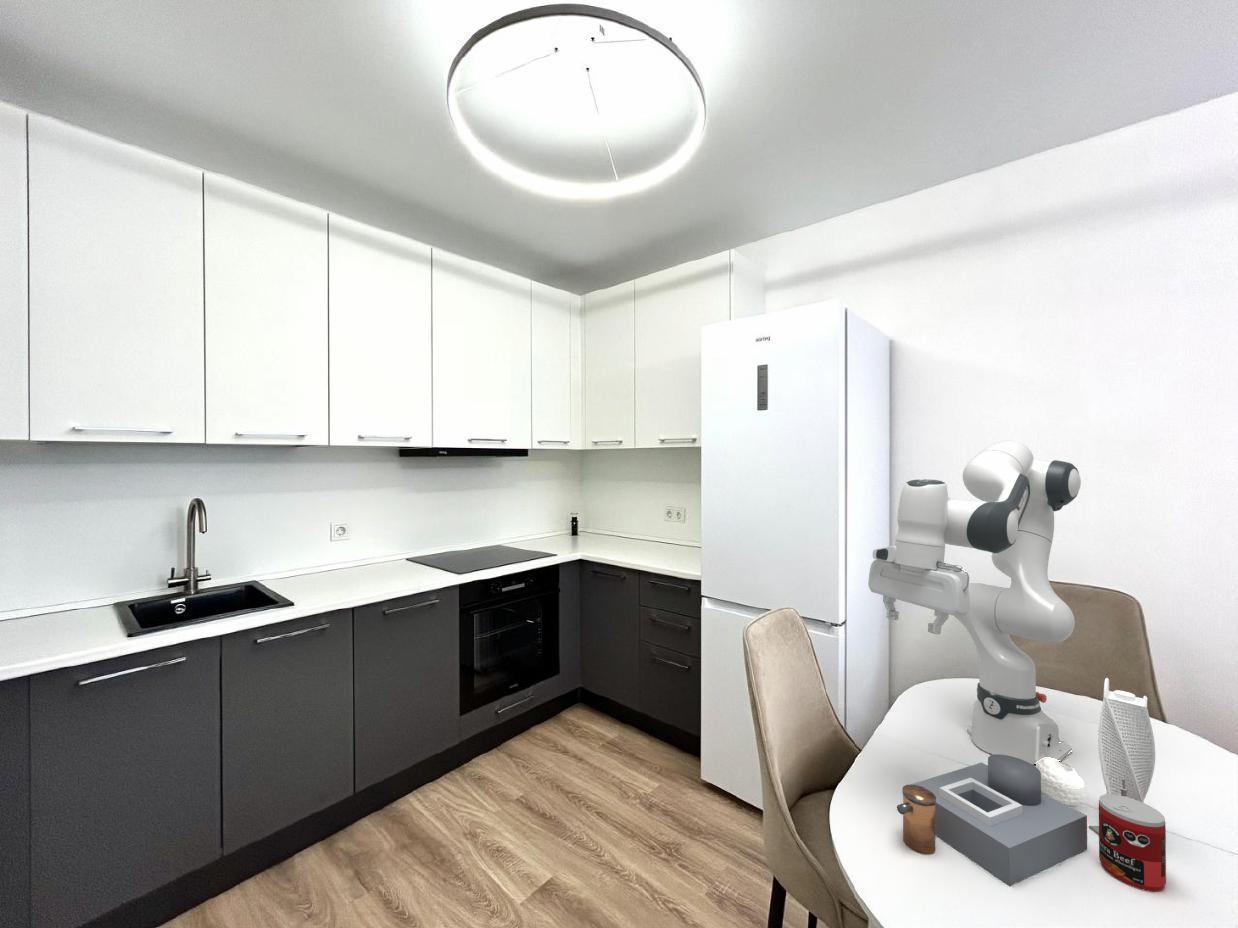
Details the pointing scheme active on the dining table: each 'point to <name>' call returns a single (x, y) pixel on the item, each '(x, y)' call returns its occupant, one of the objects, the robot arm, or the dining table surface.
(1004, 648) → the robot arm
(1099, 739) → the skyscraper
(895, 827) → the dining table surface
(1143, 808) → the canned food
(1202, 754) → the dining table surface
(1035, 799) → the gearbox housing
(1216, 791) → the dining table surface
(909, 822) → the spout can
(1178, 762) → the dining table surface
